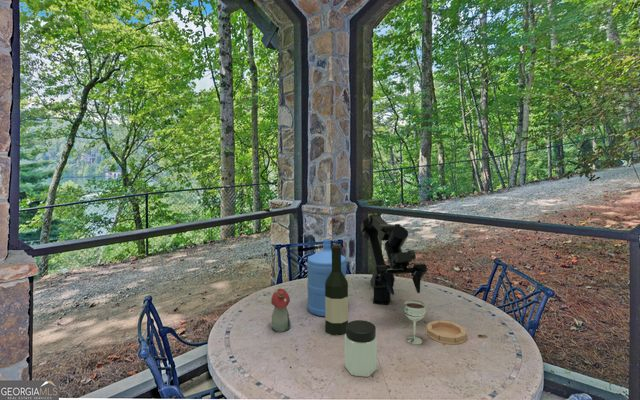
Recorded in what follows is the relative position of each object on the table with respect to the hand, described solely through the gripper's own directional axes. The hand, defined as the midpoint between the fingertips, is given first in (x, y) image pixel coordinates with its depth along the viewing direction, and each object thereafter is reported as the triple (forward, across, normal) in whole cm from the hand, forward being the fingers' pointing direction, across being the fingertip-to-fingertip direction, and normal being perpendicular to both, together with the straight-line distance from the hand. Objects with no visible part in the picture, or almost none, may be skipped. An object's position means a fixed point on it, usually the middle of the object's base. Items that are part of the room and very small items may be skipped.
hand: (406, 293), depth 112 cm
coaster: (+13, +12, +6) cm, 18 cm away
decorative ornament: (+3, -42, +15) cm, 45 cm away
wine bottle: (+6, -24, +12) cm, 27 cm away
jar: (+23, -21, -4) cm, 32 cm away
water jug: (-6, -24, +25) cm, 35 cm away
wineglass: (+14, 0, +4) cm, 15 cm away
